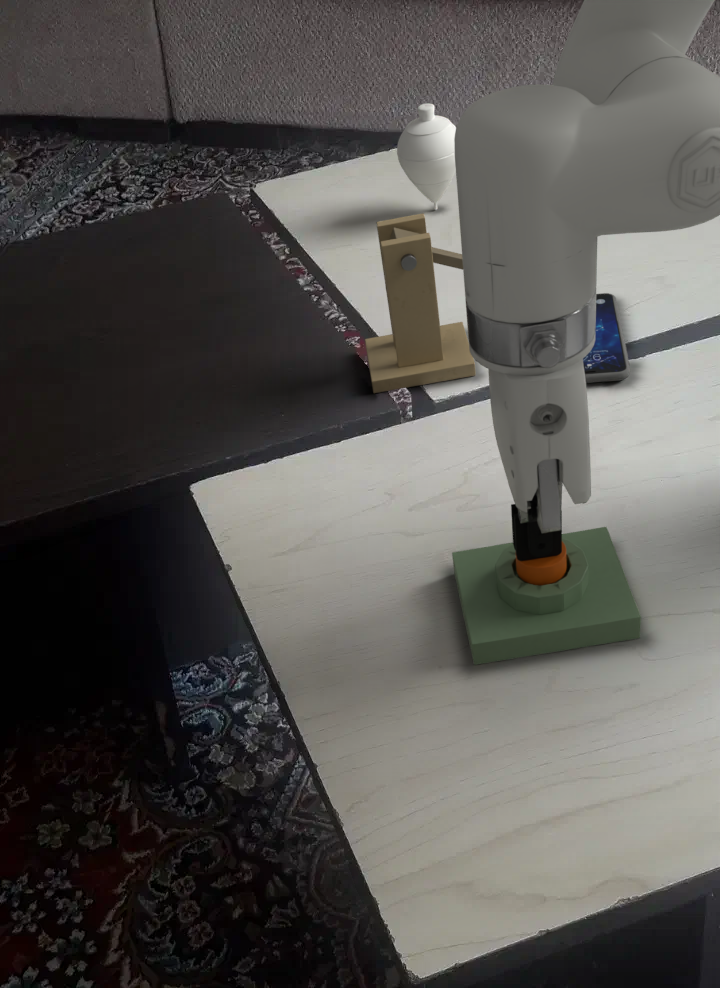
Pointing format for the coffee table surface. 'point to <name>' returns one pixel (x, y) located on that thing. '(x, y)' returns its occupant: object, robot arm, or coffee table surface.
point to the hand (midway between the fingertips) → (537, 550)
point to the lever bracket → (414, 316)
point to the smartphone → (607, 344)
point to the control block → (545, 600)
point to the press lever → (434, 251)
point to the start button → (543, 569)
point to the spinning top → (428, 153)
